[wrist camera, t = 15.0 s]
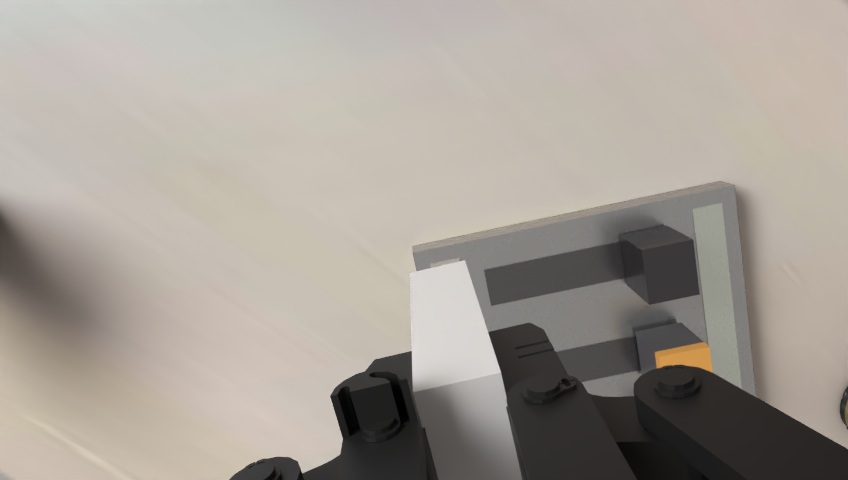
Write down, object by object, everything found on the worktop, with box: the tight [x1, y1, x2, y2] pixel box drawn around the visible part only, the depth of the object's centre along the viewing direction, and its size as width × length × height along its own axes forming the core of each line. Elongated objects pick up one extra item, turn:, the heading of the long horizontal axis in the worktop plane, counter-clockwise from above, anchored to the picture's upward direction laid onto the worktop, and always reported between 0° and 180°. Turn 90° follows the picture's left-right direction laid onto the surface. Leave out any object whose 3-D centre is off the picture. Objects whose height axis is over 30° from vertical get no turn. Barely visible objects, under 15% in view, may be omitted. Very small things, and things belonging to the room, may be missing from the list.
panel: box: [413, 181, 756, 397], centre depth 45 cm, size 21×22×6 cm
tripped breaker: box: [636, 322, 713, 375], centre depth 43 cm, size 4×3×4 cm
